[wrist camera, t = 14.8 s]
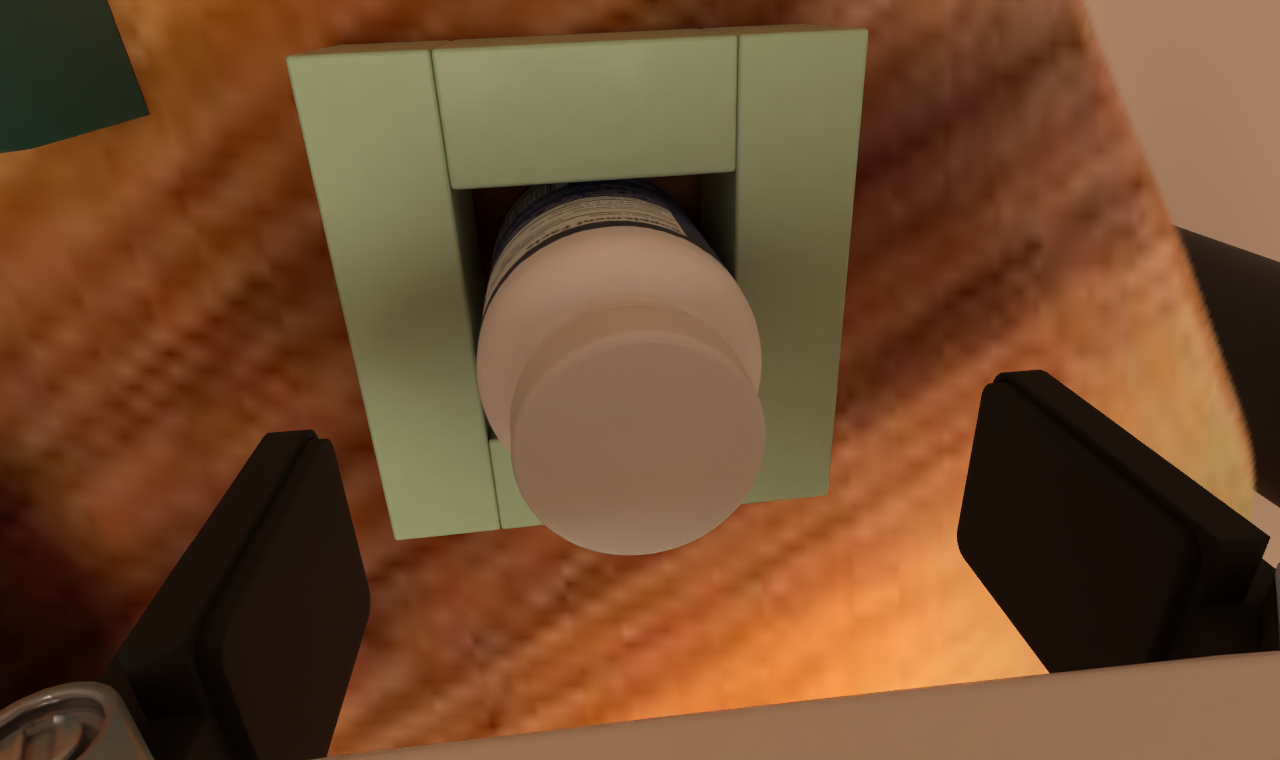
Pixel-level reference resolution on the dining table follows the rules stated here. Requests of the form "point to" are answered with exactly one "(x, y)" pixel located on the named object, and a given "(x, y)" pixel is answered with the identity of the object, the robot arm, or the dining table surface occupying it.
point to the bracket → (62, 72)
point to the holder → (562, 153)
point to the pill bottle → (619, 367)
